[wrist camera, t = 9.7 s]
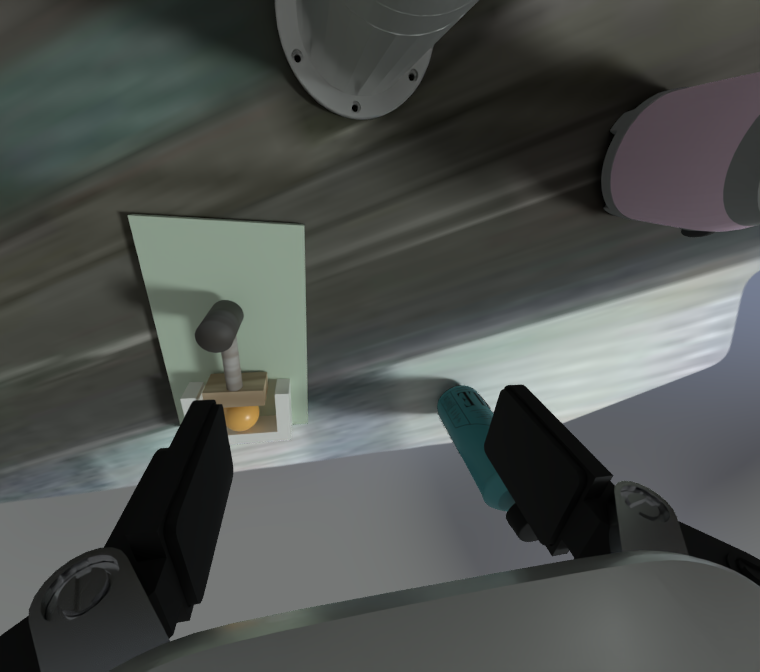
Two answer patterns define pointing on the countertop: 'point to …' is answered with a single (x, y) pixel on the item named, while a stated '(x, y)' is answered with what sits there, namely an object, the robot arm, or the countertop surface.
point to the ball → (241, 417)
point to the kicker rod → (229, 359)
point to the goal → (265, 426)
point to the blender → (689, 158)
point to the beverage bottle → (479, 451)
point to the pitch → (227, 297)
